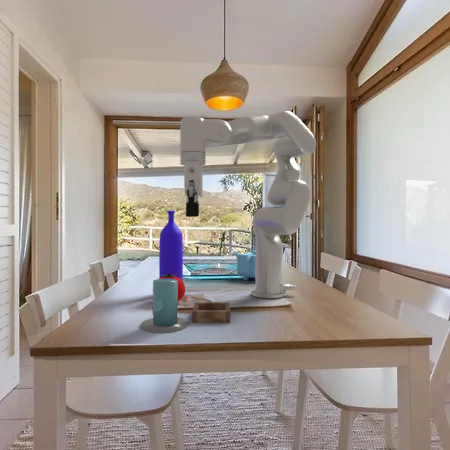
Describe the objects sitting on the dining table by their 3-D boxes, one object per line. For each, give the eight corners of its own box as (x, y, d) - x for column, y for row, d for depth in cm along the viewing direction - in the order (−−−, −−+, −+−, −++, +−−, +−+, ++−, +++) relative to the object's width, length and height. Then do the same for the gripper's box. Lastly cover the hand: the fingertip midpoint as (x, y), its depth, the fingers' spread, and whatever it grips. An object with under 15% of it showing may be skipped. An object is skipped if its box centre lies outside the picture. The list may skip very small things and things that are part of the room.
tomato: (149, 301, 121) (149, 271, 121) (180, 299, 125) (180, 269, 125) (156, 309, 112) (156, 276, 111) (189, 306, 115) (189, 274, 115)
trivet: (189, 320, 101) (189, 316, 100) (186, 334, 89) (186, 330, 88) (145, 320, 100) (145, 316, 100) (136, 334, 88) (136, 330, 88)
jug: (157, 319, 98) (157, 278, 98) (180, 320, 97) (180, 278, 97) (143, 331, 88) (143, 285, 88) (168, 332, 87) (168, 286, 87)
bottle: (178, 298, 126) (178, 211, 125) (155, 296, 128) (155, 210, 127) (185, 292, 135) (185, 211, 133) (164, 291, 136) (164, 211, 135)
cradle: (229, 314, 107) (229, 302, 107) (230, 324, 97) (230, 311, 97) (194, 314, 107) (194, 302, 106) (192, 324, 97) (192, 311, 96)
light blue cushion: (275, 277, 167) (275, 249, 166) (259, 283, 154) (259, 252, 153) (240, 274, 176) (240, 247, 176) (223, 279, 163) (223, 250, 163)
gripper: (204, 155, 101) (204, 217, 102) (206, 163, 119) (206, 216, 119) (177, 154, 101) (177, 216, 102) (183, 163, 118) (182, 216, 119)
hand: (192, 216), depth 111 cm, fingers open, 9 cm apart
